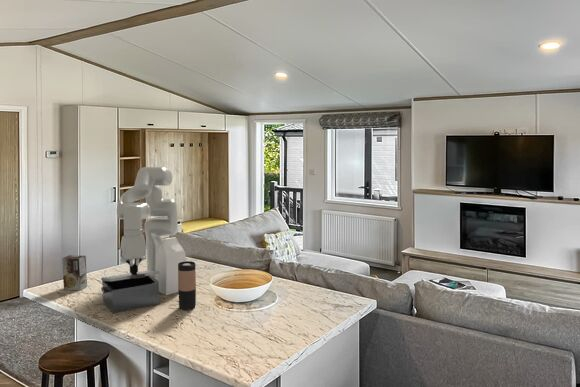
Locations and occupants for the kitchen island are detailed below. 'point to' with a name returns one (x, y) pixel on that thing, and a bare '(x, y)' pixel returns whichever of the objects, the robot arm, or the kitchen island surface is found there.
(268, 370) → the kitchen island surface
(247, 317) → the kitchen island surface
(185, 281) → the travel mug
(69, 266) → the coffee box
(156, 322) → the kitchen island surface
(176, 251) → the milk
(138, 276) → the lid
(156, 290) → the grey lidded box
